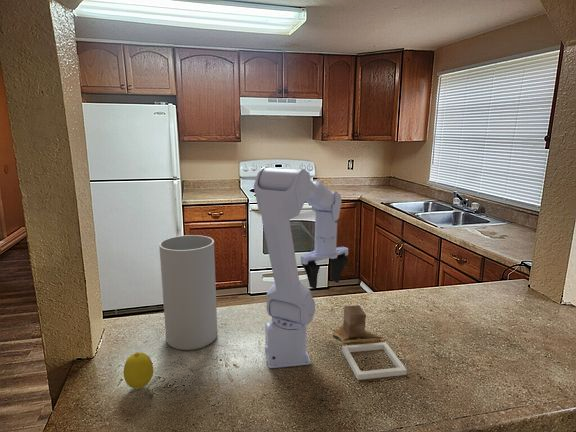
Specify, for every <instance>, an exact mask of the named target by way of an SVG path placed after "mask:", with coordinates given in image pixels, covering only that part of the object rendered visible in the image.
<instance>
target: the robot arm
mask: <svg viewBox="0 0 576 432" xmlns="http://www.w3.org/2000/svg"><path fill="white" fill-rule="evenodd" d="M253 190H254V195H255V200H256V204H257V209H258V211H259V213H260V214H261V222H262V227H263V233H264V236H265V237H264V238H265V241H266V246H267V252H268V257H269V261H270V265H271V270H272V275H273V280H274V283H273V284H272V285H271V286H270V288H269V289H268V291H267V292H266V312H267V314H268V317H271V321H267V322H265V325H264V327H265V328H264V329H265V330H264V331H265V333H264V334H265V336H264V337H265V344H264V353H265V355H266V360H267V361H266V362H267V367H268V368H269V369H275V368H276V369H277V368H287V367H297V366H298V367H299V366H307V365H311V364H312V361H311V359H310V357H309V354H308V350H307V333H308V331H307V328H308V327H307V326H308V325H310V324H311V322H312V321H313V319H314V316H315V312H316V301H315V299H314V298H313V295H312V292H311V290H310V288H311V289H314V290H315V289H317V287H318V275H319V272H320V268H321V266H320V265H318V264H317V262H318V261H322V260H330V266H331V281H332V282H335V283H339V282H340V278H341V276H342V272H343V270H344V268H345V266H346V265H347V263H348V262H349V257H347V256H348V255H349V248H348V247H345V246H337V241H338V240H337V238H338V237H337V236H338V220H339V219H340V211H341V207H342V196H341V194H340V193H338V191H337V190H336V191H335V190H334V191H333V190H330V189H329V187H328V186H325V185H324V184H323V181H322V180H319V179H318V180H316V179H315V180H313V181H312V180H311V175H310V172H309V171H307V170H306V169H304V168H300V169H296V168H295V169H292V168H275V167H269V166H268V167H267V166H263V167H261V168H260V169H259V171H258V173H257V175H256V178H255V181H254V183H253ZM305 202H306V204H308V205H309V206H311V209H312V212H314V213H315V215H314V217H315V218H314V250H312V251H310V252H307V253H304V254H302V255H300V263H301V265H302V268H303V269H304V271H305V273H306V277H307V279H308V284H309V287H310V288H308V287H307V286H305V285H304V284H303V283H302V282H301V280H300V277H299V270H298V264H297V258H296V254H295V247H294V241H293V233H292V229H291V222H290V220H292V219H294V218H296V217H298V216H299V215H300V214H301V211H302V210H303V207H304V204H305Z"/></svg>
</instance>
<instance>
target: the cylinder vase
mask: <svg viewBox="0 0 576 432" xmlns="http://www.w3.org/2000/svg"><path fill="white" fill-rule="evenodd" d="M158 247H159V257H160V258H159V259H160V271H161V272H160V273H161V275H160V276H161V288H162V301H163V315H164V326H165V327H164V329H165V340H166V342H167V344H168V345H169V346H170V347H171V348H174V349H176V350H181V351H192V350H197V349H202V348H204V347H206V346H208V345H210V344H211V343H213V342H214V340H216V338H217V336H218V316H217V315H218V314H217V290H216V289H217V288H216V287H217V286H216V264H215V263H216V262H215V260H216V259H215V240H214V239H213V238H212V237H210V236H205V235H199V234H196V235H195V234H194V235H193V234H190V235H189V234H186V235H179V236H178V235H177V236H173V237H169V238H166V239H164V240H162V241H160V242H159V245H158Z"/></svg>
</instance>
